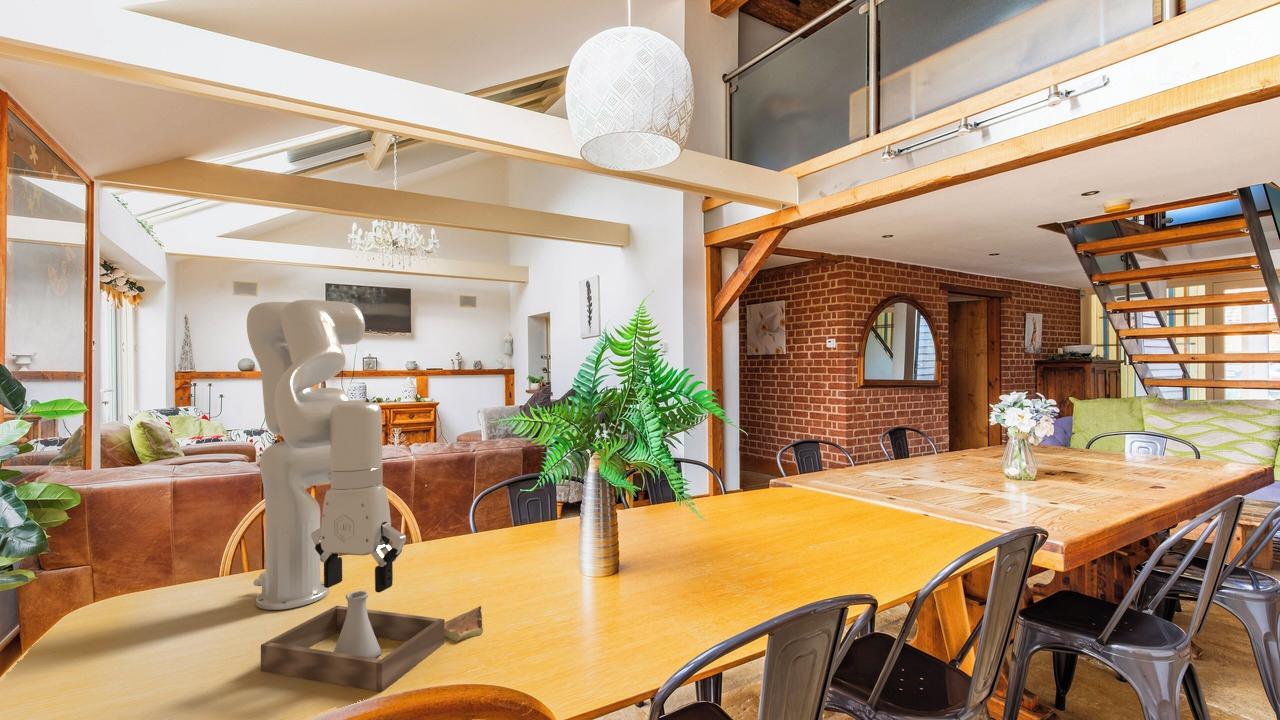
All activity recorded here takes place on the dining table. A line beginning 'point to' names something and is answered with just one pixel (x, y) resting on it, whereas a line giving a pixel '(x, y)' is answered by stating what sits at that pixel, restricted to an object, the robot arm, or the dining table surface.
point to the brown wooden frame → (351, 670)
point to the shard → (465, 625)
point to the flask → (357, 629)
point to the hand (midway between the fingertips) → (358, 587)
